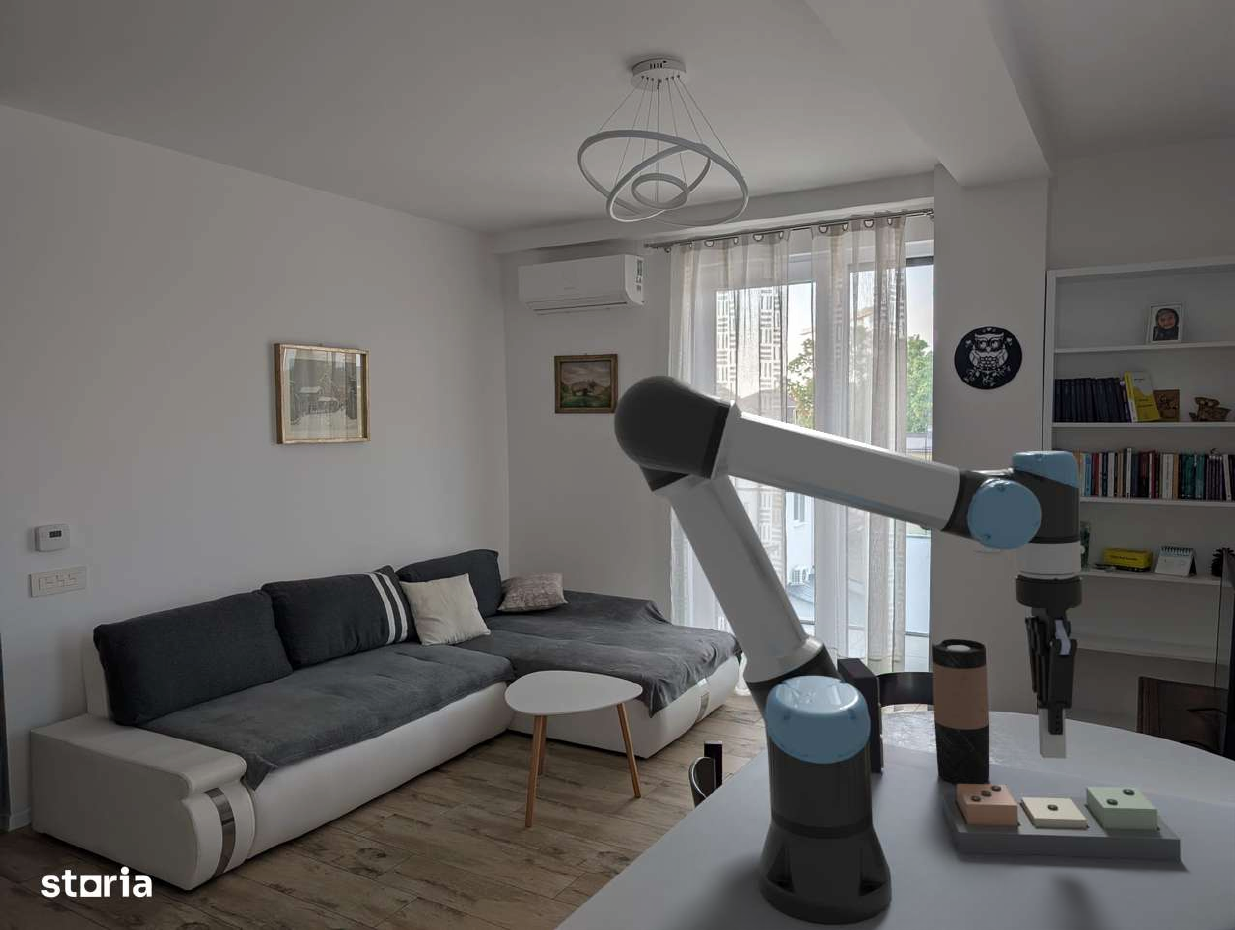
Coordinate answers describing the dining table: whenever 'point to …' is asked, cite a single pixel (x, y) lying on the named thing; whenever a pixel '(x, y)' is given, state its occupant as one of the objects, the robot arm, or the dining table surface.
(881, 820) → the dining table surface
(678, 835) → the dining table surface
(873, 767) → the calculator
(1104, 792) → the button two
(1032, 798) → the button one
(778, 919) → the dining table surface
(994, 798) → the button three
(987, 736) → the travel mug
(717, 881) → the dining table surface
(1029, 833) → the keypad board
